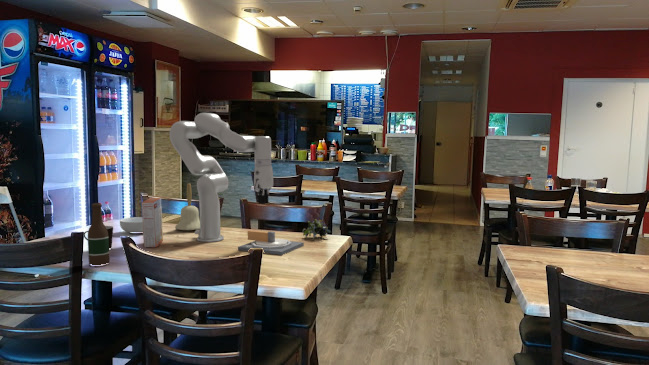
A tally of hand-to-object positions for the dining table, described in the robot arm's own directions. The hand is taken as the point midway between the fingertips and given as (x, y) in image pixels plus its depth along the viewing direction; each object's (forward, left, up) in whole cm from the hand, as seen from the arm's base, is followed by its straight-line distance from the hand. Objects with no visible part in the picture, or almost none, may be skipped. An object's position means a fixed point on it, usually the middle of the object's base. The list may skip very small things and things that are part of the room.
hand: (263, 203), depth 228 cm
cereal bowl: (-74, -4, -19) cm, 77 cm away
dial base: (+7, -5, -19) cm, 21 cm away
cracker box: (-46, -22, -19) cm, 55 cm away
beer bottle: (-39, -58, -19) cm, 73 cm away
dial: (+4, -5, -17) cm, 19 cm away
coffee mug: (-59, -40, -19) cm, 74 cm away
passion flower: (+16, +22, -19) cm, 33 cm away
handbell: (-54, +13, -19) cm, 59 cm away
